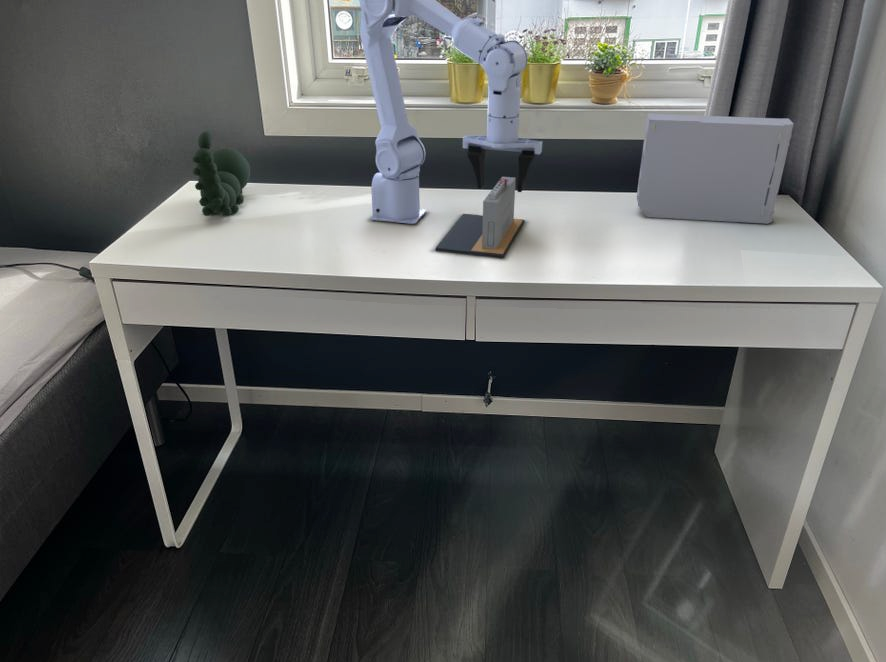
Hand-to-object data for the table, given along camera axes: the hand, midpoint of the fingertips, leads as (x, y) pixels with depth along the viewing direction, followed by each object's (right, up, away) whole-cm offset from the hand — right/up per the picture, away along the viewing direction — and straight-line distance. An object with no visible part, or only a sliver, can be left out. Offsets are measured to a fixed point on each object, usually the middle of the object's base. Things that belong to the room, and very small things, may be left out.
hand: (500, 188), depth 143 cm
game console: (+43, -3, +15) cm, 46 cm away
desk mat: (-3, -8, +5) cm, 10 cm away
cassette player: (0, -8, +4) cm, 9 cm away
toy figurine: (-57, 0, +19) cm, 61 cm away
